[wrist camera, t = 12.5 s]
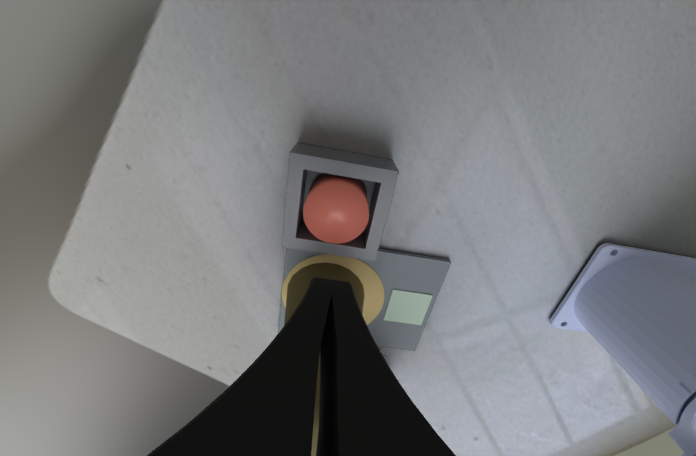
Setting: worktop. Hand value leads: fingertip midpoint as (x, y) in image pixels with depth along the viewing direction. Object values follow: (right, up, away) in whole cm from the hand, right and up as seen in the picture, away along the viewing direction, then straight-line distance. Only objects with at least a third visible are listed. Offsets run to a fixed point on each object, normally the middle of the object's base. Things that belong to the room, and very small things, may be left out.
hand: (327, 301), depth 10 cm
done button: (0, +4, +9) cm, 10 cm away
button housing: (0, +5, +9) cm, 10 cm away
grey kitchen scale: (+1, -3, +13) cm, 14 cm away
